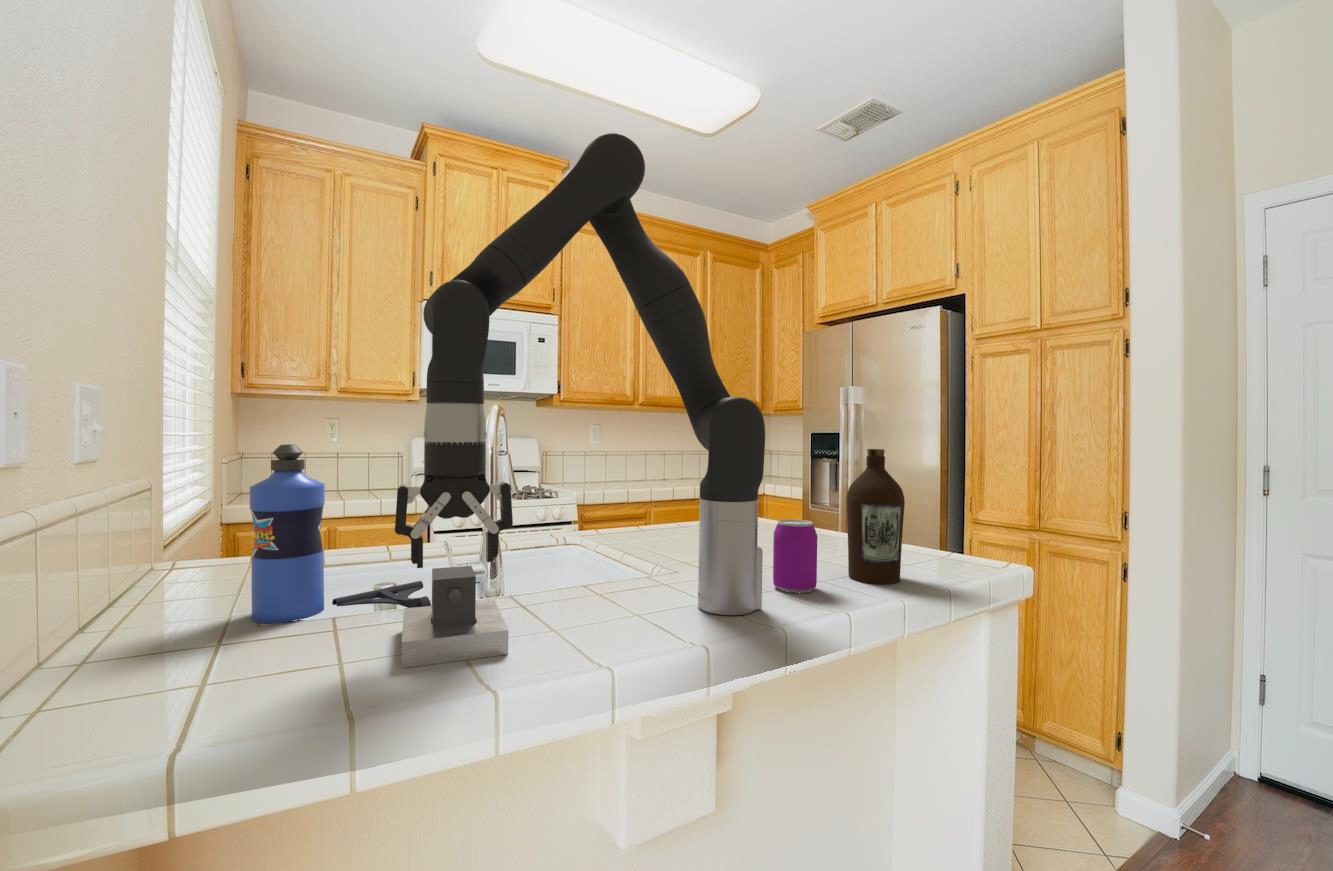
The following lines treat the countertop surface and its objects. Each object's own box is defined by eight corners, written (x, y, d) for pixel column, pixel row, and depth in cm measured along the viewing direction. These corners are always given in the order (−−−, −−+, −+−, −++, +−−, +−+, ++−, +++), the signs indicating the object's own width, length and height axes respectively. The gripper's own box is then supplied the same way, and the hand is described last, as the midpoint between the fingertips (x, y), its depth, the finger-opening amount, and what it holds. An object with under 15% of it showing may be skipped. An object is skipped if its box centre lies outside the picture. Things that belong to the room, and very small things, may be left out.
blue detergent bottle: (271, 627, 81) (270, 445, 81) (237, 616, 86) (236, 444, 86) (338, 609, 89) (337, 444, 89) (304, 601, 94) (303, 443, 94)
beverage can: (796, 596, 101) (797, 526, 101) (763, 587, 107) (764, 520, 107) (825, 590, 105) (826, 522, 105) (792, 581, 111) (793, 517, 111)
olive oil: (839, 571, 120) (841, 448, 120) (892, 572, 120) (894, 448, 119) (853, 584, 109) (855, 449, 109) (911, 586, 109) (914, 450, 109)
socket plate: (494, 620, 86) (494, 599, 86) (508, 654, 73) (508, 630, 73) (403, 630, 81) (403, 608, 81) (401, 668, 68) (401, 642, 68)
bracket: (380, 628, 84) (380, 609, 84) (331, 608, 93) (332, 590, 93) (468, 606, 95) (469, 589, 95) (418, 590, 104) (418, 574, 104)
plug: (470, 624, 81) (471, 565, 81) (476, 643, 74) (476, 579, 74) (431, 628, 79) (432, 568, 79) (432, 648, 72) (433, 582, 72)
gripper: (507, 438, 83) (507, 554, 83) (395, 439, 77) (395, 562, 78) (516, 439, 76) (515, 565, 76) (394, 439, 71) (394, 575, 71)
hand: (455, 564), depth 77 cm, fingers open, 8 cm apart
